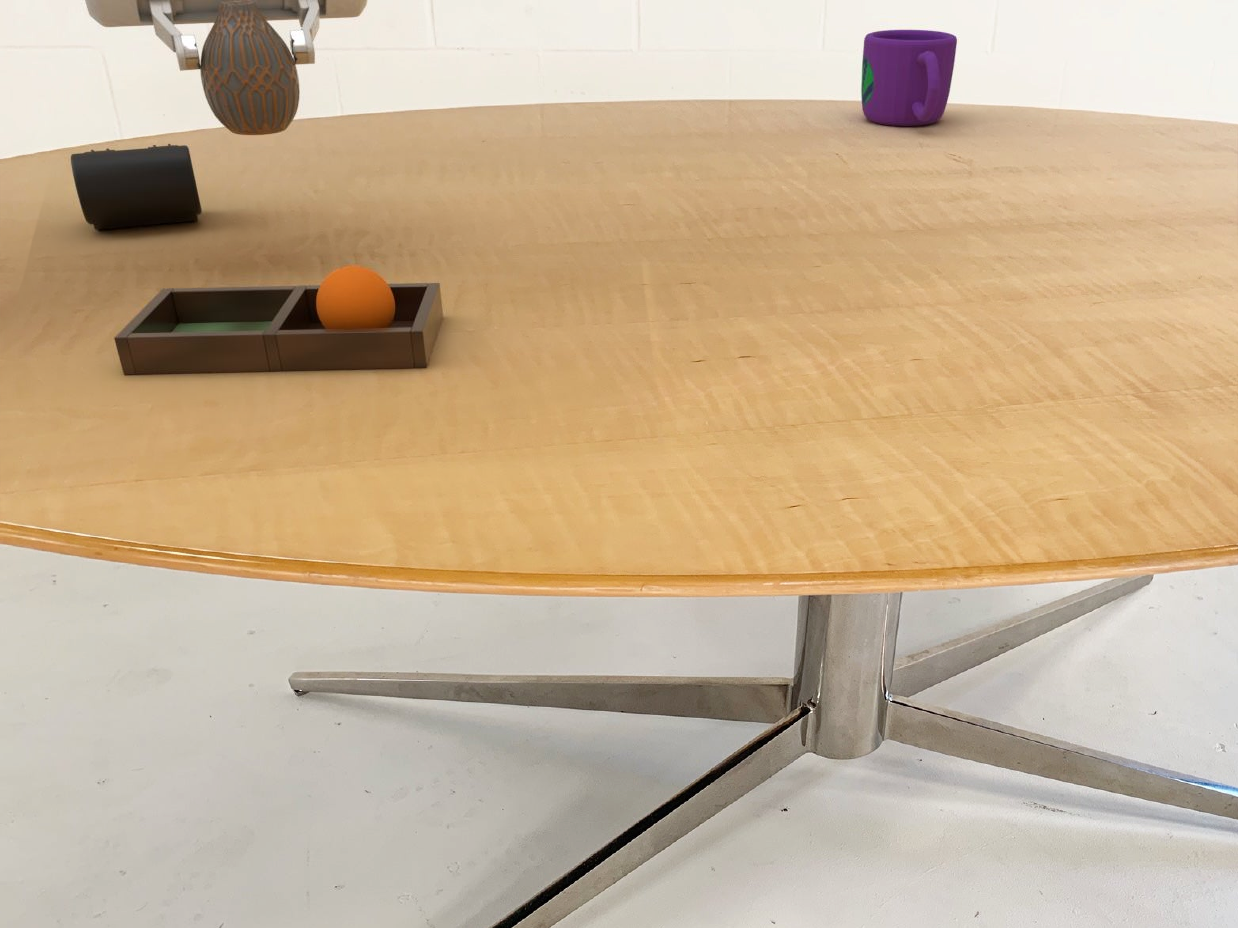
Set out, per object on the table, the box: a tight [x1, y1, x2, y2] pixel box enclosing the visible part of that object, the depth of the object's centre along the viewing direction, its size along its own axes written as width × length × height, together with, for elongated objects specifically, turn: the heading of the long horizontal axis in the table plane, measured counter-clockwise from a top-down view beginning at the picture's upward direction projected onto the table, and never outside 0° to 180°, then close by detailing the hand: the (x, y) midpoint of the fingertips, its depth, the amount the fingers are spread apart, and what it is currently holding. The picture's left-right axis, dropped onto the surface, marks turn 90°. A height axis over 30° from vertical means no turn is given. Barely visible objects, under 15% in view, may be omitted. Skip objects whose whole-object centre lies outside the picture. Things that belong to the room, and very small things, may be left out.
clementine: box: [316, 265, 395, 329], centre depth 79 cm, size 5×5×5 cm
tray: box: [114, 282, 444, 377], centre depth 80 cm, size 20×10×3 cm, turn 93°
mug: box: [860, 29, 958, 127], centre depth 145 cm, size 17×11×10 cm, turn 6°
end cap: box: [70, 143, 203, 231], centre depth 108 cm, size 10×7×7 cm
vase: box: [199, 1, 301, 136], centre depth 86 cm, size 7×7×9 cm
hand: (247, 62), depth 86 cm, fingers closed on vase, 7 cm apart
